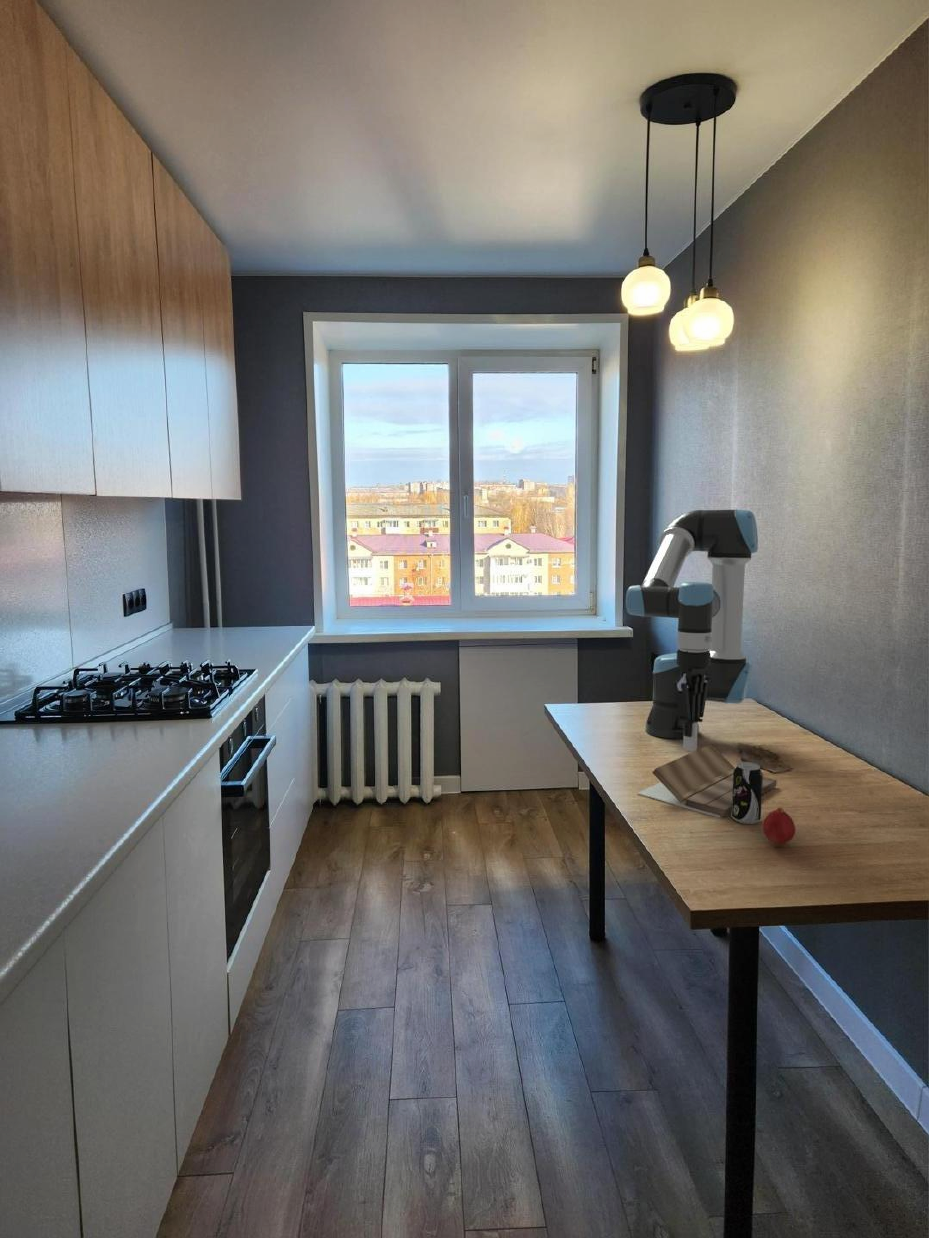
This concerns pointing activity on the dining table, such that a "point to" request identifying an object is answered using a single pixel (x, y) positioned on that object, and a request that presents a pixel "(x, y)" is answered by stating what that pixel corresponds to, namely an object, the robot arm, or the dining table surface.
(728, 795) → the laid board
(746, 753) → the wooden fragment
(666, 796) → the underlay mat
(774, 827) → the pomegranate
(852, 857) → the dining table surface
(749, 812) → the beverage can
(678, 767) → the plank
